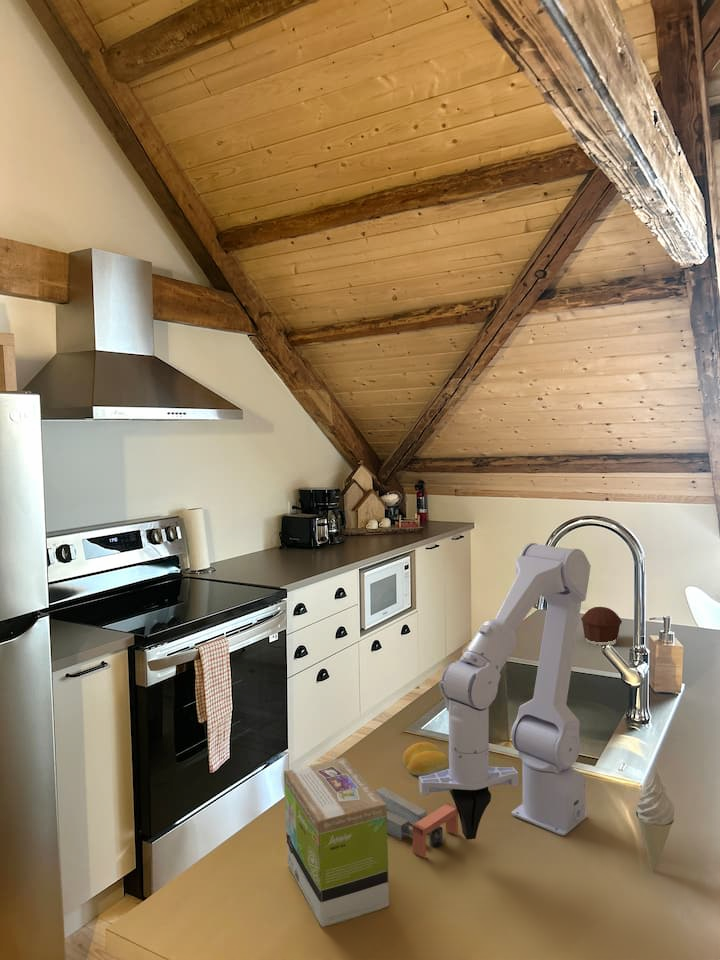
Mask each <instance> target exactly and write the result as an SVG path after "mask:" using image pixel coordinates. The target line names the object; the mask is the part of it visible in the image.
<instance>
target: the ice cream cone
mask: <svg viewBox="0 0 720 960" xmlns="http://www.w3.org/2000/svg"><path fill="white" fill-rule="evenodd" d="M646 787H647V788H646V790H645V791H644V792H643V795H641V796H639V797H638V798H639V800H640V801H641V802H637V805H636V806H637V807H638V808H637V809H636V811H635V816H636V818H637V821H638V825H639V830H640V832H641V835H642V836H641V837H642V839H643V843H644V846H645V850H646V854H647V857H648V861H649V865H650V867H651V868H650V869H651V871H652V872H654V873H655V872H657V869H658V866H659V863H660V862H661V861H660V860H661V858H662V856H663V852H664V848H665V845H666V843H667V839H668V837H669V833H670V830H671V828H672V825H673V823H674V822H675V821H674V820H675V819H674V818H675V817H674V816H675V805H674V803H673V801H672V799H670V797H669V796H668V795H667V790H666V789H667V788H666V786H664V784H663V782H662V780H661V778H660V775H659V772H658V770H657V768H656V769H655V770H654V773H653V775H652V777H651V779H650V780H649V782H648V783H647V784H646Z"/></svg>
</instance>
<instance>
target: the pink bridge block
mask: <svg viewBox="0 0 720 960" xmlns="http://www.w3.org/2000/svg"><path fill="white" fill-rule="evenodd" d="M443 824H445V831H447V832H448V833H451V834H453V835H456V836H457V835H458V834H459V814H458V810H457V808H456V805H455V804H454V805H453V804H451V803H449V802H447V803H445V804H444V805H443V806H440V807H439V808H438V809H436V810H434V811H433V812H431V813H430V814H427V816H426V817H425V818H423V819H421V820H420V821H418V822H417V823H415V824H414V825H412V827H413V837H412V853H414V854H416V855H418V856H419V857H422V858H425V857H426V856H427V837H426V836H427V835H428V834H429V832H431V831H432V830H434V829H435V828H437V827H439V826H441V825H443Z"/></svg>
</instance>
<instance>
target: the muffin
mask: <svg viewBox="0 0 720 960" xmlns="http://www.w3.org/2000/svg"><path fill="white" fill-rule="evenodd" d="M580 620H581V622H582V627H583V635H584V639H585V638H587V639H588V640H590V641H595V642H608V641H613V640H615V639H617V637H618V638H619V633H620V626H621V624H622V623H623V620H622V619H621V617H620V616H619V615H618V613H617V612H615V610H612V609H611V608H609V607H605V606H594V607H592V608H590V609H588V610H587V611H586V612H585V613H584V614H583V615H582V617H581V618H580ZM617 640H618V639H617Z"/></svg>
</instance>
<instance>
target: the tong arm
mask: <svg viewBox="0 0 720 960" xmlns="http://www.w3.org/2000/svg"><path fill="white" fill-rule="evenodd" d="M374 791H375V792H376V794H377V795H378V796H379V797H380V798H381V799H382V800H383V801H384V802H385V804H386V809H387V811H389V812H391V813H393V814H395V815H398V816H400V817H402V818H404V819H406V820H408V821H409V824H410V825H411V826H413V825H414V824H415V823H417V822H418V821H420V820H421V819H423V818H425V817H426V816H428V811H427V810H425V809H424V808H422V807H420V806H418V805H417V804H415V803H413V802H412V801H409V800H407V799H405V798H404V797H402V796H400V795H399V794H397V793H395V792H394V791H391V790H389V789H388V788H386V787H385V786H382V787H380V788H377V789H375V790H374Z"/></svg>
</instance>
